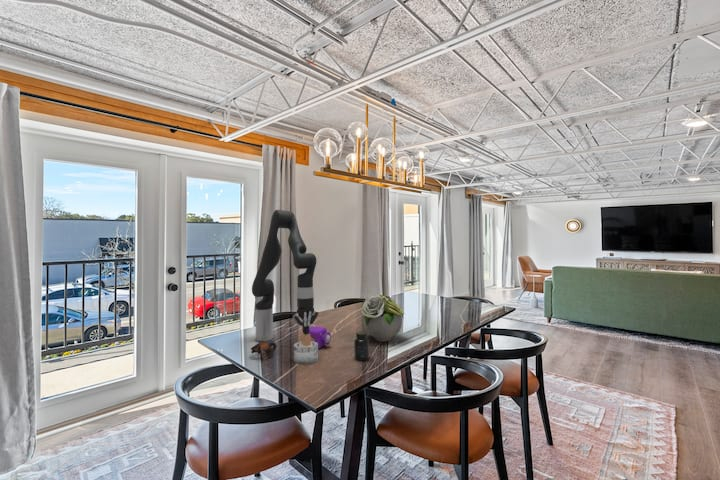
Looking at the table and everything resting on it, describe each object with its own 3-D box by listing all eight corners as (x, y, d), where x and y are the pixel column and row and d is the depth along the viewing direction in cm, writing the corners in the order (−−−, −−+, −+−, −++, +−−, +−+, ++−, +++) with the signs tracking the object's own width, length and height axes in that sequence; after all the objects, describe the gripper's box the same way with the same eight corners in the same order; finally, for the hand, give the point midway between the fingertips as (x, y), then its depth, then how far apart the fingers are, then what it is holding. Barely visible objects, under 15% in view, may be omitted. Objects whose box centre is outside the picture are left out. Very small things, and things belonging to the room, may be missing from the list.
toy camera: (327, 350, 170) (327, 330, 170) (301, 349, 173) (301, 329, 173) (333, 344, 181) (333, 325, 181) (309, 342, 184) (309, 324, 183)
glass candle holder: (289, 358, 159) (289, 344, 159) (310, 353, 166) (310, 339, 166) (300, 365, 150) (300, 350, 150) (322, 360, 157) (322, 345, 157)
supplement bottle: (353, 356, 162) (353, 331, 162) (368, 355, 163) (368, 330, 162) (355, 361, 155) (354, 335, 155) (369, 361, 156) (369, 334, 156)
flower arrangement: (353, 343, 181) (352, 297, 181) (369, 331, 204) (369, 290, 204) (398, 349, 172) (398, 300, 171) (410, 335, 195) (410, 292, 195)
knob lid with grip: (296, 348, 159) (296, 333, 159) (308, 345, 163) (308, 331, 163) (302, 351, 154) (302, 336, 154) (315, 348, 158) (315, 333, 158)
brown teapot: (258, 363, 155) (251, 346, 157) (254, 366, 163) (247, 350, 165) (282, 351, 163) (274, 335, 164) (276, 354, 170) (269, 339, 172)
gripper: (313, 293, 165) (314, 329, 165) (288, 297, 157) (289, 334, 157) (321, 295, 159) (322, 333, 159) (296, 299, 151) (296, 338, 151)
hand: (305, 333), depth 158 cm, fingers closed
